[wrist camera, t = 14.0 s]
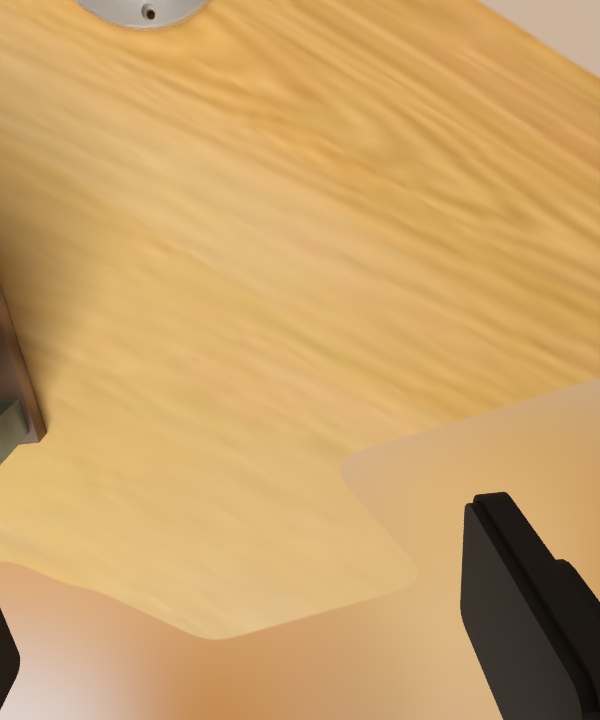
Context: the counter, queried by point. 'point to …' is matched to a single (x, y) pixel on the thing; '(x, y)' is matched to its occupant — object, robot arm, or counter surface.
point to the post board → (15, 393)
